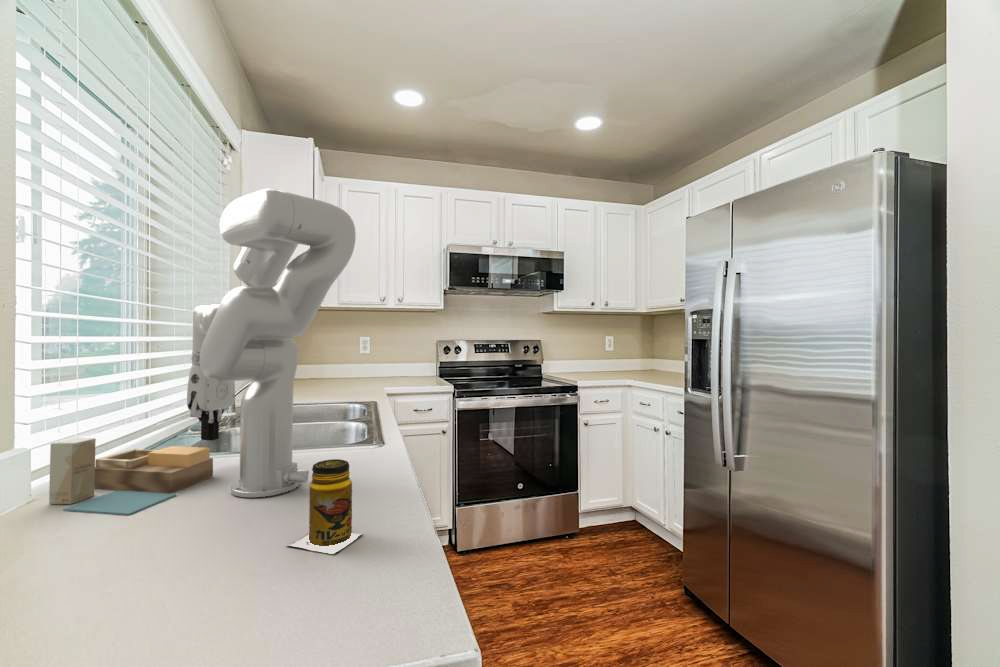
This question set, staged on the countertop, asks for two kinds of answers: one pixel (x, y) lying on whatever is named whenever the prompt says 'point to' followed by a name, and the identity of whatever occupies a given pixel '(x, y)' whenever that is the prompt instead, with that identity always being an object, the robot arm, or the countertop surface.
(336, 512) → the condiment
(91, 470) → the box
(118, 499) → the mat
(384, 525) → the countertop surface
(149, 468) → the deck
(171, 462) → the tan rectangular block
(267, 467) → the robot arm
